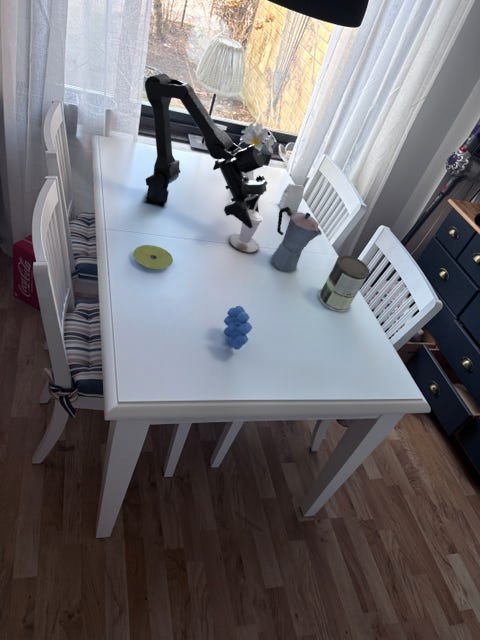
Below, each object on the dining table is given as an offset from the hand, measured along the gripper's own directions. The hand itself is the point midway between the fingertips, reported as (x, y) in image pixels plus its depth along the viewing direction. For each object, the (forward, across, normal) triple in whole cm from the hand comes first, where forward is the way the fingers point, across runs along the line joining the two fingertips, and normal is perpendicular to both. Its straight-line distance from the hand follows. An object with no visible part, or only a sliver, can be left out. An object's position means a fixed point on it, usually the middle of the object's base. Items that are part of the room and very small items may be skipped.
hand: (254, 224), depth 153 cm
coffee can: (+30, -6, -18) cm, 35 cm away
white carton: (+8, +39, +4) cm, 40 cm away
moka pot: (+16, 0, -3) cm, 16 cm away
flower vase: (-6, +36, +19) cm, 41 cm away
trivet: (+5, 0, +7) cm, 9 cm away
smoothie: (+4, 0, +6) cm, 7 cm away
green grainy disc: (-6, -31, +19) cm, 37 cm away
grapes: (+17, -45, -4) cm, 49 cm away
